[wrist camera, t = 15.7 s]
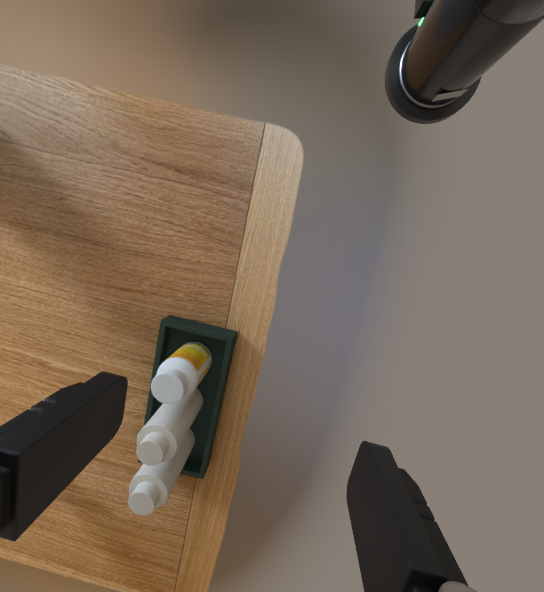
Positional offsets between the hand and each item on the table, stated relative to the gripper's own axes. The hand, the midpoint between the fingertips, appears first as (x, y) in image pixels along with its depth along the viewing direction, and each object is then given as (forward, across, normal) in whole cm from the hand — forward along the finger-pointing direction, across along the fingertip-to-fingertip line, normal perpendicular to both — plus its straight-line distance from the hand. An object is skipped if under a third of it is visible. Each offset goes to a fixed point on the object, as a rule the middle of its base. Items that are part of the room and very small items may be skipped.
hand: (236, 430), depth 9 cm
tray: (+31, +10, +20) cm, 38 cm away
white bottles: (+30, +10, +24) cm, 40 cm away
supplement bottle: (+30, +10, +14) cm, 35 cm away
